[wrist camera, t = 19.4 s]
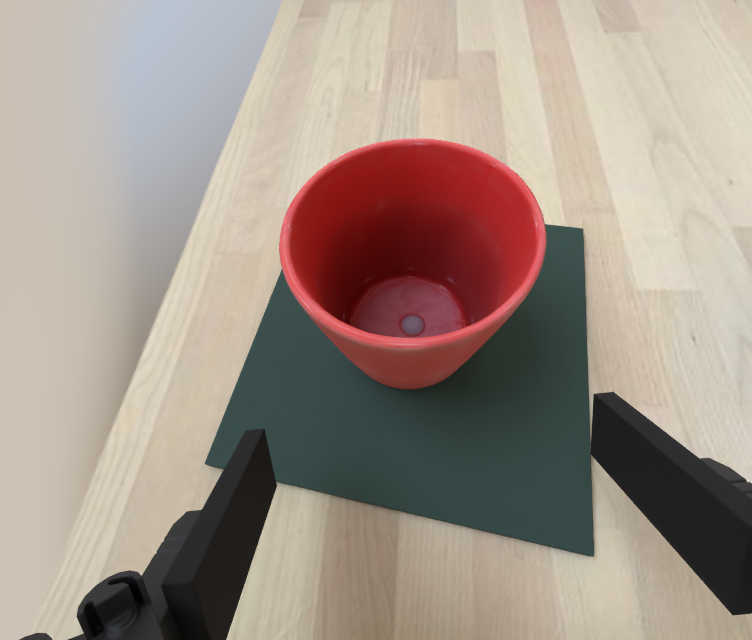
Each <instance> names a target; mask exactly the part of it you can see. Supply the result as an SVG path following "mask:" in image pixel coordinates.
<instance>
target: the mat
mask: <svg viewBox="0 0 752 640" xmlns="http://www.w3.org/2000/svg"><path fill="white" fill-rule="evenodd" d="M545 229H546V251H545V256H544V261H543V264H542V268H541V270H540V273H539V276H538V278H537V280H536V281H535V283H534V285H533V287H532V289H531V291H530V292H529V294H528V295H527V296H526V298H525V299H524V301H523V302H522V303H521V304H520V305H519V307H518V308H517V309H516V310H515V311H514V313H513V314H512V315H511V316H510V317H509V318H508V320H507V321H506V322H505V323H504V324H503V325H502V326H501V327H500V328H499V329H498V330H497V331H496V332H495V333H494V334H493V335H492V336H491V337H490V338H489V339H488V340H487V341H486V342H485V343H484V344H483V345H482V346H481V347H480V348H479V349H478V350H477V351H476V352H475V353H474V354H473V355H472V356H471V357H470V358H469V359H468V360H467V361H466V362H465V363H464V364H463V365H461V366H460V367H459V368H458V369H457V370H456V371H455V372H454V373H453V374H451V375H450V376H449V377H447V378H446V379H444V380H443V381H441V382H439V383H437V384H434V385H432V386H428V387H424V388H419V389H399V388H393V387H389V386H386V385H383V384H381V383H379V382H377V381H375V380H373V379H372V378H370V377H369V376H368V375H366V374H365V373H364V372H363V371H362V370H361V369H359V368H358V367H357V366H356V365H355V364H354V363H353V362H352V361H351V360H349V359H348V358H347V357H346V356H345V355H344V354H343V353H342V352H341V351H340V350H339V349H338V347H337V346H336V345H335V344H334V343H333V342H332V341H331V340H330V339H329V338H328V337H327V336H326V335H325V334H324V332H323V331H322V330H321V329H320V328H319V327H318V326H317V325H316V323H315V322H314V321H313V320H312V319H311V318H310V316H309V315H308V314H307V313H306V311H305V310H304V309H303V307H302V306H301V305H300V304H299V302H298V301H297V299H296V298H295V296H294V295H293V293H292V291H291V290H290V288H289V286H288V283H287V281H286V279H285V276H284V273H283V270H281V273H280V276H279V278H278V281H277V283H276V286H275V288H274V291H273V293H272V296H271V298H270V301H269V303H268V306H267V308H266V311H265V313H264V316H263V318H262V321H261V323H260V326H259V328H258V331H257V333H256V336H255V338H254V341H253V343H252V346H251V349H250V351H249V354H248V356H247V359H246V361H245V364H244V366H243V369H242V371H241V374H240V376H239V379H238V381H237V384H236V386H235V389H234V391H233V394H232V396H231V399H230V401H229V404H228V406H227V409H226V411H225V414H224V416H223V419H222V422H221V424H220V427H219V429H218V432H217V434H216V437H215V439H214V442H213V444H212V447H211V449H210V452H209V454H208V457H207V459H206V462H205V464H206V465H209V466H214V467H218V468H222V469H225V467H226V465H227V463H228V461H229V460H230V458H231V456H232V454H233V452H234V451H235V449H236V447H237V445H238V443H239V441H240V440H241V438H242V436H243V434H244V432H245V431H246V430H254V429H264V428H265V433H266V438H267V442H268V447H269V451H270V456H271V461H272V465H273V470H274V475H275V479H276V481H277V482H281V483H285V484H289V485H293V486H297V487H302V488H306V489H310V490H314V491H318V492H323V493H327V494H331V495H335V496H339V497H344V498H348V499H352V500H356V501H360V502H365V503H369V504H373V505H377V506H381V507H386V508H390V509H394V510H398V511H402V512H407V513H411V514H415V515H419V516H423V517H428V518H432V519H436V520H440V521H444V522H449V523H453V524H457V525H461V526H465V527H470V528H474V529H478V530H482V531H486V532H491V533H495V534H499V535H503V536H507V537H512V538H516V539H520V540H524V541H528V542H533V543H537V544H541V545H545V546H549V547H553V548H558V549H562V550H566V551H570V552H574V553H579V554H583V555H587V556H594V541H593V511H592V481H591V450H590V420H589V390H588V359H587V329H586V299H585V268H584V238H583V229H581V228H572V227H564V226H555V225H546V224H545Z"/></svg>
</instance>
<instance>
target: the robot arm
mask: <svg viewBox="0 0 752 640" xmlns="http://www.w3.org/2000/svg"><path fill="white" fill-rule="evenodd" d="M591 455H592V456H593V457H594V458H595V460H596V461H597V462H598V463H599V464H600V465H601V466H602V467H603V469H604V470H605V471H606V472H607V473H608V474H609V475H610V477H611V478H612V479H613V480H614V481H615V482H616V483H617V484H618V486H619V487H620V488H621V489H622V490H623V491H624V492H625V494H626V495H627V496H628V497H629V498H630V499H631V500H632V501H633V503H634V504H635V505H636V506H637V507H638V508H639V509H640V511H641V512H642V513H643V514H644V515H645V516H646V517H647V519H648V520H649V521H650V522H651V523H652V524H653V525H654V526H655V528H656V529H657V530H658V531H659V532H660V533H661V534H662V536H663V537H664V538H665V539H666V540H667V541H668V542H669V543H670V545H671V546H672V547H673V548H674V549H675V550H676V551H677V553H678V554H679V555H680V556H681V557H682V558H683V559H684V560H685V562H686V563H687V564H688V565H689V566H690V567H691V568H692V570H693V571H694V572H695V573H696V574H697V575H698V576H699V577H700V579H701V580H702V581H703V582H704V583H705V584H706V585H707V587H708V588H709V589H710V590H711V591H712V592H713V593H714V594H715V596H716V597H717V598H718V599H719V600H720V601H721V602H722V604H723V605H724V606H725V607H726V608H727V609H728V610H729V611H730V613H731V614H732V615H740V614H751V613H752V484H751V483H750V482H747V481H746V479H744V478H743V477H742V476H740V475H739V474H738V473H736V472H735V471H733V470H732V469H731V468H729V467H727V466H725V465H723V464H721V463H719V462H717V461H714V460H712V459H710V458H701V459H699V458H698V457H697V456H695V455H694V454H693V453H692V452H690V451H689V450H688V449H686V448H685V447H684V446H682V445H681V444H680V443H679V442H677V441H676V440H675V439H673V438H672V437H671V436H670V435H668V434H667V433H666V432H664V431H663V430H662V429H661V428H659V427H658V426H657V425H655V424H654V423H653V422H651V421H650V420H649V419H648V418H646V417H645V416H644V415H642V414H641V413H640V412H639V411H637V410H636V409H635V408H633V407H632V406H631V405H629V404H628V403H627V402H626V401H624V400H623V399H622V398H620V397H619V396H618V395H617V394H615V393H614V392H609V393H599V394H594V400H593V418H592V436H591ZM276 487H277V484H276V479H275V475H274V470H273V465H272V461H271V456H270V451H269V447H268V442H267V438H266V433H265V428H264V429H254V430H246V431H245V432H244V434H243V436H242V438H241V440H240V441H239V443H238V445H237V447H236V449H235V451H234V452H233V454H232V456H231V458H230V460H229V461H228V463H227V465H226V467H225V469H224V471H223V472H222V474H221V476H220V478H219V480H218V481H217V483H216V485H215V487H214V489H213V491H212V492H211V494H210V496H209V498H208V500H207V501H206V503H205V505H204V507H203V509H202V510H198V511H188V512H186V513H185V514H184V515H183V516H182V517H181V518H180V519H179V520H178V521H177V522H176V523H174V524H173V526H172V528H171V529H170V531H169V532H168V534H167V536H166V537H165V539H164V542H162V544H161V545H160V547H159V549H158V550H157V554H155V555H154V557H153V558H152V560H151V562H150V563H149V565H148V567H147V568H146V570H145V572H144V573H143V575H142V576H141V575H140V574H139V573H138V572H135V571H125V572H120V573H117V574H115V575H113V576H110V577H108V578H106V579H105V580H103V581H102V582H101V583H99V584H98V585H96V586H95V587H94V588H93V589H92V590H91V591H90V592H89V593H88V594H87V595H86V596H85V597H84V599H83V600H82V602H81V604H80V605H79V607H78V612H77V618H78V621H79V623H80V625H81V628H82V630H83V632H84V634H82V635H79V636H76V637H74V638H71V639H69V640H226V638H227V635H228V632H229V629H230V626H231V623H232V620H233V617H234V614H235V611H236V608H237V605H238V602H239V599H240V596H241V593H242V590H243V587H244V584H245V581H246V578H247V575H248V572H249V569H250V566H251V563H252V560H253V557H254V554H255V551H256V548H257V545H258V542H259V539H260V536H261V532H262V529H263V526H264V523H265V520H266V517H267V514H268V511H269V508H270V505H271V502H272V499H273V496H274V493H275V490H276ZM20 640H52V638H51V637H50V636H49V635H48V634H47V633H36V634H32V635H29V636H26V637H24V638H22V639H20Z"/></svg>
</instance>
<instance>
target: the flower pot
mask: <svg viewBox="0 0 752 640" xmlns="http://www.w3.org/2000/svg"><path fill="white" fill-rule="evenodd" d="M545 251H546V229H545V223H544V218H543V215H542V212H541V209H540V207H539V205H538V203H537V200H536V198H535V196H534V195H533V193H532V192H531V190H530V188H529V187H528V186H527V185H526V183H525V182H524V181H523V180H522V178H521V177H519V175H518V174H517V173H515V172H514V171H513V170H512V169H510V168H509V167H508V166H506V165H505V164H504V163H502V162H500V161H499V160H497V159H495V158H494V157H492V156H490V155H488V154H486V153H484V152H482V151H479V150H477V149H474V148H471V147H468V146H465V145H461V144H457V143H453V142H448V141H442V140H435V139H399V140H392V141H386V142H380V143H376V144H372V145H368V146H365V147H362V148H359V149H356V150H353V151H351V152H349V153H346V154H344V155H342V156H340V157H339V158H337V159H335V160H333V161H332V162H330V163H329V164H327V165H326V166H324V167H323V168H322V169H321V170H319V171H318V172H317V173H316V174H315V175H314V176H312V177H311V178H310V179H309V180H308V182H307V183H306V184H305V185H304V186H303V187H302V188H301V190H300V191H299V192H298V194H297V195H296V196H295V198H294V199H293V201H292V203H291V204H290V206H289V208H288V210H287V213H286V215H285V218H284V221H283V225H282V228H281V234H280V243H279V253H280V261H281V266H282V270H283V273H284V276H285V279H286V281H287V283H288V286H289V288H290V290H291V291H292V293H293V295H294V296H295V298H296V299H297V301H298V302H299V304H300V305H301V306H302V307H303V309H304V310H305V311H306V313H307V314H308V315H309V316H310V318H311V319H312V320H313V321H314V322H315V323H316V325H317V326H318V327H319V328H320V329H321V330H322V331H323V332H324V334H325V335H326V336H327V337H328V338H329V339H330V340H331V341H332V342H333V343H334V344H335V345H336V346H337V347H338V349H339V350H340V351H341V352H342V353H343V354H344V355H345V356H346V357H347V358H348V359H349V360H351V361H352V362H353V363H354V364H355V365H356V366H357V367H358V368H359V369H361V370H362V371H363V372H364V373H365V374H366V375H368V376H369V377H370V378H372V379H373V380H375V381H377V382H379V383H381V384H383V385H386V386H389V387H393V388H399V389H419V388H424V387H428V386H432V385H434V384H437V383H439V382H441V381H443V380H444V379H446V378H447V377H449V376H450V375H451V374H453V373H454V372H455V371H456V370H457V369H458V368H459V367H460V366H461V365H463V364H464V363H465V362H466V361H467V360H468V359H469V358H470V357H471V356H472V355H473V354H474V353H475V352H476V351H477V350H478V349H479V348H480V347H481V346H482V345H483V344H484V343H485V342H486V341H487V340H488V339H489V338H490V337H491V336H492V335H493V334H494V333H495V332H496V331H497V330H498V329H499V328H500V327H501V326H502V325H503V324H504V323H505V322H506V321H507V320H508V318H509V317H510V316H511V315H512V314H513V313H514V311H515V310H516V309H517V308H518V307H519V305H520V304H521V303H522V302H523V301H524V299H525V298H526V296H527V295H528V294H529V292H530V291H531V289H532V287H533V285H534V283H535V281H536V280H537V278H538V276H539V273H540V270H541V268H542V264H543V261H544V256H545Z"/></svg>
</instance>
